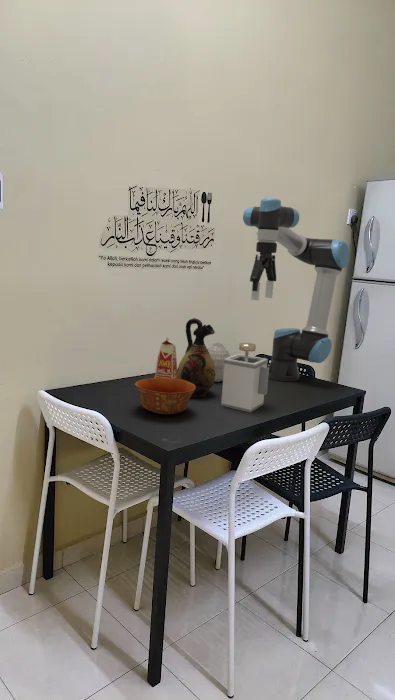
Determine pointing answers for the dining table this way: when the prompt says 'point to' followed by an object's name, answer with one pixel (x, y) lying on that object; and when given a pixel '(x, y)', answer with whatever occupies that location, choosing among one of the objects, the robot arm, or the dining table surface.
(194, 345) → the ceramic jug
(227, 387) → the box
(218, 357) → the vase
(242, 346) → the plunger
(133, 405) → the dining table surface
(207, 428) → the dining table surface
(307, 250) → the robot arm
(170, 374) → the milk carton
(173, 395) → the bowl
